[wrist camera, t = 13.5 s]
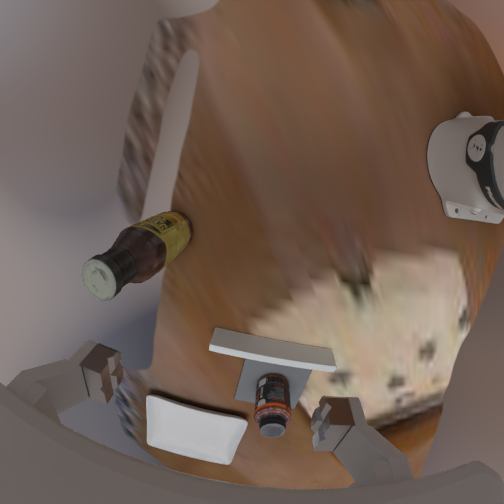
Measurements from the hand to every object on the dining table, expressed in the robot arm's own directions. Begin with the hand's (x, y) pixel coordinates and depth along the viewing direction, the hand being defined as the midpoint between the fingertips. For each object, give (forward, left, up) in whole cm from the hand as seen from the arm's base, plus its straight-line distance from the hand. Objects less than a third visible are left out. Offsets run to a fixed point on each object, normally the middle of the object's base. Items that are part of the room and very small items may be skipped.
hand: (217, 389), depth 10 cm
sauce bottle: (+12, +3, -31) cm, 34 cm away
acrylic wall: (-7, +18, -31) cm, 37 cm away
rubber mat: (-9, +27, -31) cm, 42 cm away
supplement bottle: (-9, +27, -31) cm, 42 cm away
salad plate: (+4, +47, -32) cm, 57 cm away
